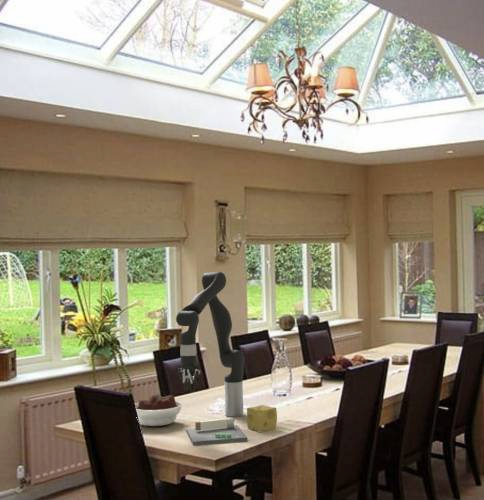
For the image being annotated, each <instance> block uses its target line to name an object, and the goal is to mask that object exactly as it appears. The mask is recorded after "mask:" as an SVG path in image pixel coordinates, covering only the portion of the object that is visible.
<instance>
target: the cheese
mask: <svg viewBox="0 0 484 500" xmlns="http://www.w3.org/2000/svg"><path fill="white" fill-rule="evenodd" d="M277 421H278V411H277V407H276V406H268V405H264V404H262V405H256V406H251V407H247V408H246V424H247V425H246V426H247V429H248V430H253V431H255V432H257V433H263V432H267V431H271V430H276V429H277V423H278V422H277Z"/></svg>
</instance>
